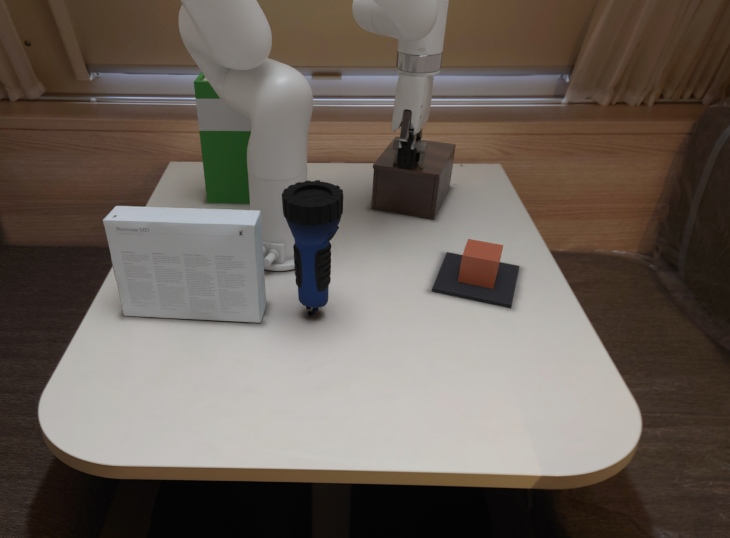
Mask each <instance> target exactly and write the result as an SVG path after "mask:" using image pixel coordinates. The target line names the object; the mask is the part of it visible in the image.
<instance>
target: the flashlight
mask: <svg viewBox="0 0 730 538" xmlns="http://www.w3.org/2000/svg"><path fill="white" fill-rule="evenodd" d="M282 205H283V213H284V217H285V218H286V221H287V223H288V226H289V228H290V230H291V233H292V235H293V237H294V239H295V244H294V246H293V250H294V265H295V266H294V268H295V269H294V277H295V279H294V280H295V285H296V287H297V296H298V301H299V303H300V304H301V305H302V306H304V307H305V310H308V311H307V313H306V315H307V316H308V317H309V318H314V317H315V316H316V315H317V313H318V311H319V308H323V307H326V305H327V304H328V301H329V288H330V287H329V285H330V284H331V281H332V279H331V275H332V270H331V269H332V258H331V257H332V244H331V241H332V239H333V238H334V237H335V235H336V234H337V232H338V231H339V228H340V226H339V225H340V223H341V219H342V216H343V214H344V190H343V189H342V188H341V187H340V185H338V184H337V185H335V184H333V183H330V182H327V181H321V180H320V179H316V180H313V181H312V180H307V181H305V182H298V183H296V184H294V185H290V186H288V188H285V189H284V190H283V193H282Z"/></svg>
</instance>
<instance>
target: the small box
mask: <svg viewBox="0 0 730 538" xmlns="http://www.w3.org/2000/svg"><path fill="white" fill-rule="evenodd" d="M503 249H504V244H500V243H495V242H488V241H483V240H477V239H472V238H468V239H467V240H466V243H465V247H464V249H463V252H462V254H461V255H462V260H461V266H460V272H459V278H458V282H461V283H466V284H471V285H476V286H481V287H486V288H491V289H493V288H494V284H495V280H496V276H497V272H498V268H499V263H500V262H501V258H502V253H503Z"/></svg>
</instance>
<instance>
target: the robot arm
mask: <svg viewBox="0 0 730 538" xmlns="http://www.w3.org/2000/svg"><path fill="white" fill-rule="evenodd" d="M179 1H180V3H181V6H180V8H179V12H178V21H177V22H178V30H179V31H178V32H179V36H180V38H181V40H182V43H183V45H184V47H185V48H186V50H187V53H188V54H189V55H190V57H191V58H192V60H193V61H194V63H195V65H196V66H197V67H198V69H199V70H200V71H201V72H202V73H203V74H204V76H205V77H206V79H207V80H208V82H209V83H210V85H211V86H212V88H213V89H214V91H215V92H216V93H217V95H218V96H219V98H220V99H221V100H222V101H223V102H224V104H225V105H226V106H227V107H229V108H230V109H231V110H233V111H234V112H236V113H237V114H239V115H241V116H243V117H245V118H246V119H248V120H249V121H251V124H252V129H251V134H250V138H249V142H248V147H247V169H248V181H249V196H250V203H249V210H259V211H261V226H262V244H263V261H264V270H267V271H272V272H273V271H274V272H283V271H284V272H285V271H291V270H295V268H294V266H295V265H294V250H293V246H294V244H295V239H294V237H293V235H292V233H291V230H290V228H289V226H288V223H287V221H286V218H285V217H284V213H283V205H282V193H283V190H284V189H285V188H288V186H290V185H294V184H296V183H298V182H305V181H308V142H309V132H310V124H311V121H312V115H313V109H314V95H313V90H312V87H311V86H310V85H311V84H310V83H309V81H308V79H307V78H306V77H305V76H304V75H303V74H302V73H301V71H299V70H298V69H296V68H295V67H292V66H291V65H288V64H286V63H283V62H280V61H278V60H275V59H272V58H269V56H270V53H271V51H272V46H273V33H272V29H271V26H270V24H269V21H268V19H267V17H266V15H265V12H264V10H263V9H262V8H261V6H260V4H259V2H258V0H179ZM449 2H450V0H352V4H351V13H352V17H353V19H354V21H355V22H356V24H357V25H358V27H360V28H361V29H363V30H364V31H366V32H369V33H372V34H376V35H379V36H384V37H389V38H392V39H397V51H396V60H395V61H396V62H395V63H396V64H395V72H396V73H398V78H397V83H396V88H395V96H394V103H393V109H392V110H393V112H392V119H391V126H390V129H391V131H392V132H394V133H396V132H397V131H398V130H399V129H400V133H399V137H400V138H399V148H398V159H397V168H400V169H407V170H413V169H414V168H415V162H419V160H420V153H416V148H415V143H416V141H418V140H420V141H419V142H422V141H421V140H423V139H422V138H423V129H424V126H425V125H426V123H427V122H428V120H429V117H430V113H431V106H432V98H433V97H432V96H433V90H434V89H433V88H434V79H435V78H434V77H435V76H436V75H439V74H440V73H441V69H442V67H441V66H442V61H443V51H444V45H445V44H444V42H445V34H446V26H447V19H448V11H449V4H450V3H449ZM201 72H200V73H201Z"/></svg>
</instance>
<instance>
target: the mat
mask: <svg viewBox="0 0 730 538" xmlns="http://www.w3.org/2000/svg"><path fill="white" fill-rule="evenodd" d="M462 255H463V254H459V253H453V252H449V251H446V253H445V255H444V258H443V260H442V263H441V264H440V265H441V266H440V268H439V270H438V273H437V275H436V278H435V279H434V280H435V281H434V283H433V285H432V288H431V292H433V293H439V294H442V295H446V296H452V297H457V298H461V299H467V300H471V301H475V302H479V303H485V304H490V305H494V306H499V307H503V308H507V309H508V308H509V309H511V308H512V306H513V300H514V296H515V290H516V285H517V279H518V276H519V275H518V274H519V269H520V265H518V264H512V263H507V262H501V261H500V263H499V268H498V272H497V276H496V280H495V284H494V288H493V289H491V288H486V287H481V286H476V285H471V284H466V283H461V282H458V278H459V272H460V266H461V260H462Z"/></svg>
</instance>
